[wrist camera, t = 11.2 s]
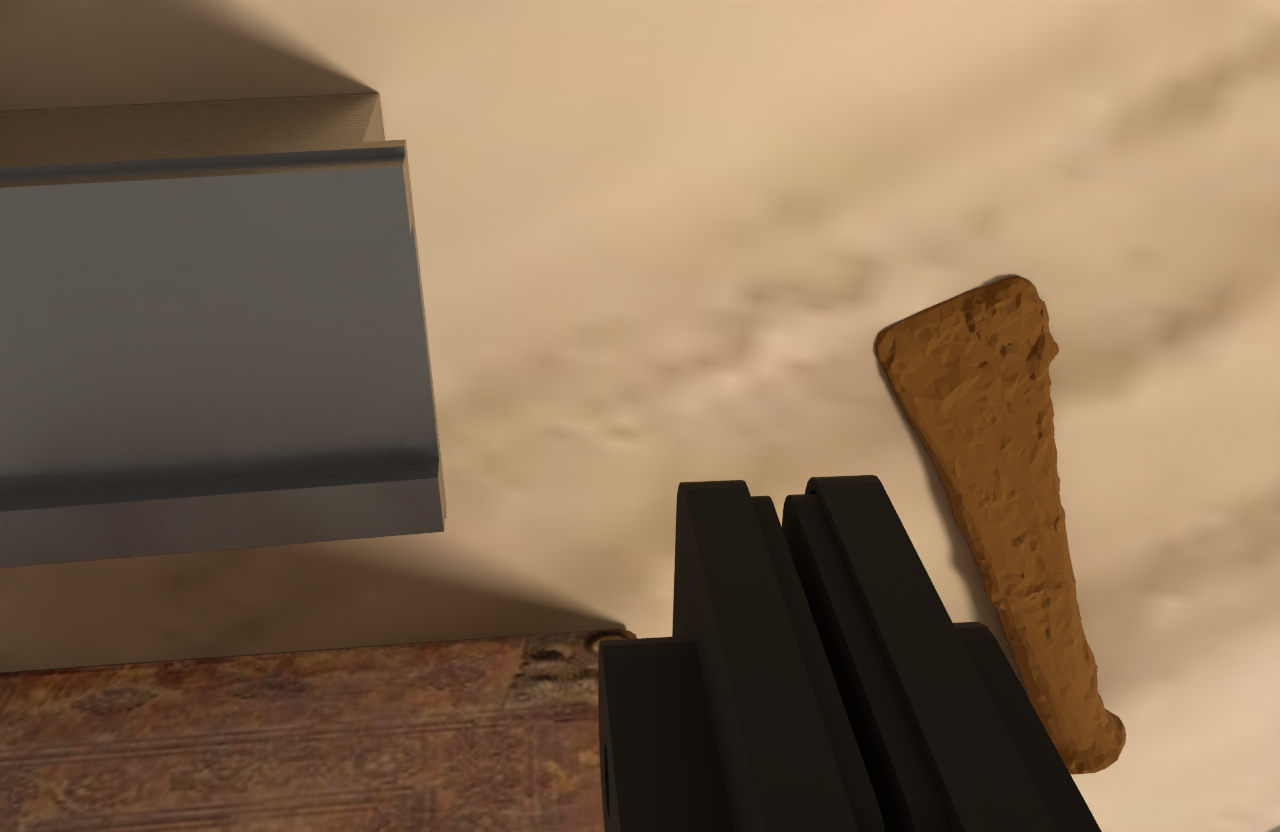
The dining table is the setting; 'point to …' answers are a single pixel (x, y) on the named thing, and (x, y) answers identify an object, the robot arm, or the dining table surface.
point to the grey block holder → (210, 331)
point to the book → (312, 741)
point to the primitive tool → (1007, 490)
